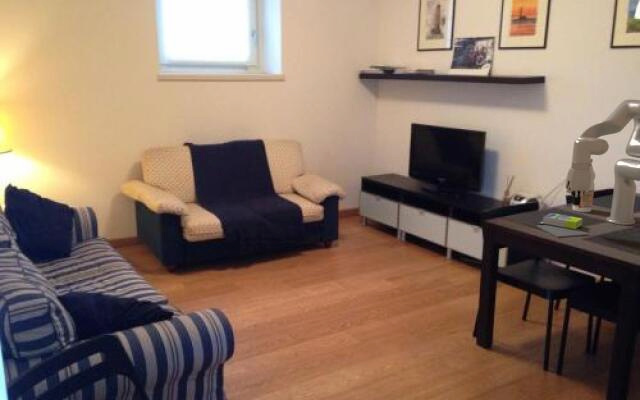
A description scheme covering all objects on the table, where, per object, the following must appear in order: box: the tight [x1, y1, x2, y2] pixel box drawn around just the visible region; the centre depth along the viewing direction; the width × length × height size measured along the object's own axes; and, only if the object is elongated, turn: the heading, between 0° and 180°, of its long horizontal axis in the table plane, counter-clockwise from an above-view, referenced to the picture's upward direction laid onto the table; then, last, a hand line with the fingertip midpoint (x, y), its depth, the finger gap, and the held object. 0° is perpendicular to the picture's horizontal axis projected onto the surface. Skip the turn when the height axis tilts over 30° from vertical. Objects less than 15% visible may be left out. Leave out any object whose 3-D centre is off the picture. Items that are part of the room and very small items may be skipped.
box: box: [538, 212, 583, 229], centre depth 266 cm, size 10×4×17 cm
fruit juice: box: [571, 158, 596, 213], centre depth 290 cm, size 9×9×28 cm
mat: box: [536, 224, 590, 238], centre depth 259 cm, size 16×17×1 cm
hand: (575, 204), depth 256 cm, fingers closed
